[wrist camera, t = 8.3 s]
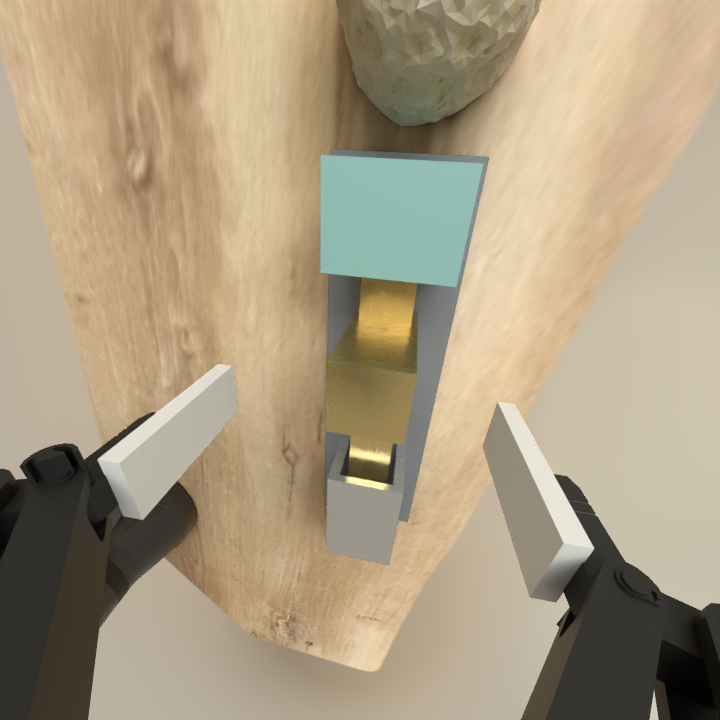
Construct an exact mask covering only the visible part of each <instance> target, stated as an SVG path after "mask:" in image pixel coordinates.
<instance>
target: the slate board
mask: <svg viewBox="0 0 720 720" xmlns="http://www.w3.org/2000/svg"><path fill="white" fill-rule="evenodd" d="M331 155H333V156H352V157H371V158H389V159H408V160H427V161H445V162H464V163H483V168H482V172H481V177H480V182H479V186H478V191H477V195H476V200H475V204H474V209H473V214H472V218H471V223H470V227H469V232H468V236H467V241H466V246H465V250H464V255H463V259H462V264H461V269H460V273H459V278H458V282H457V287H450V286H441V285H431V284H422V283H418V284H417V290H416V297H415V303H414V309H413V310H415V311H418V333H417V377H416V383H415V388H414V394H413V399H412V405H411V410H410V416H409V421H408V427H407V432H406V438H405V443H404V444H405V445H406V455H405V473H404V491H403V498H402V503H401V508H400V513H399V518H398V520H400V521H405V522H408V517H409V513H410V508H411V504H412V500H413V495H414V491H415V486H416V482H417V477H418V473H419V468H420V464H421V459H422V455H423V451H424V446H425V442H426V437H427V433H428V428H429V424H430V419H431V415H432V410H433V406H434V401H435V397H436V393H437V388H438V384H439V379H440V375H441V370H442V366H443V361H444V357H445V352H446V348H447V344H448V339H449V335H450V330H451V326H452V321H453V317H454V312H455V308H456V303H457V299H458V294H459V290H460V286H461V281H462V277H463V272H464V268H465V263H466V259H467V254H468V250H469V245H470V241H471V237H472V232H473V228H474V223H475V219H476V214H477V210H478V205H479V201H480V196H481V192H482V188H483V183H484V179H485V174H486V170H487V165H488V161H489V157H481V156H462V155H442V154H422V153H402V152H383V151H363V150H343V149H331ZM360 291H361V277H355V276H346V275H337V274H329V284H328V346H327V359H328V358H329V356H330V354H331V353H332V351H333V349H334V348H335V346H336V344H337V343H338V341H339V340H340V338H341V336H342V335H343V333H344V331H345V330H346V328H347V327H348V325H349V323H350V322H351V320H352V318H353V317H354V315H355V313H356V312H357V310H358V309H359V306H360ZM342 435H343V434H339V433H334V432H328V431H326V470H325V505H327V482H328V476H329V473H330V470H331V467H332V464H333V462H334V459H335V456H336V453H337V450H338V447H339V444H340V441H341V438H342ZM396 447H397V444H396V443H393V444H392V450H391V457H390V463H389V470H388V476H387V482H386V484H390V483H391V477H392V471H393V465H394V459H395V453H396Z"/></svg>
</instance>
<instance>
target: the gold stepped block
mask: <svg viewBox="0 0 720 720" xmlns="http://www.w3.org/2000/svg"><path fill="white" fill-rule="evenodd" d="M417 284H418V283H412V282H403V281H393V280H384V279H374V278H365V277H361V291H360V306H359V309H358V310H357V312H356V313H355V315H354V317H353V318H352V320H351V322H350V323H349V325H348V327H347V328H346V330H345V331H344V333H343V335H342V336H341V338H340V340H339V341H338V343H337V344H336V346H335V348H334V349H333V351H332V353H331V354H330V356H329V358H328V359H327V361H326V406H325V431H328V432H334V433H339V434H345V435H351V440H350V455H349V470H348V477H354V478H359V479H364V480H369V481H374V482H379V483H385V484H386V482H387V476H388V470H389V463H390V457H391V450H392V444H393V443H396V444H402V445H404V443H405V438H406V432H407V427H408V421H409V416H410V410H411V405H412V399H413V394H414V388H415V383H416V377H417V333H418V311H415V310H413V309H414V303H415V297H416V290H417Z"/></svg>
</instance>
